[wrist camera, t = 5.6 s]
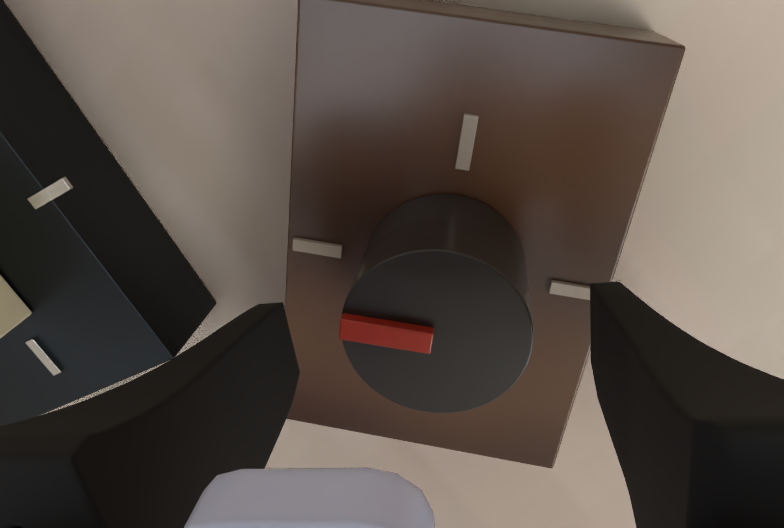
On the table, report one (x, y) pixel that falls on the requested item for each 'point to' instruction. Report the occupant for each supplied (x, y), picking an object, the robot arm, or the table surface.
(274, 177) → the table surface
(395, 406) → the walnut console
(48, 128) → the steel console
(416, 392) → the round dial
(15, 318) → the bar knob
